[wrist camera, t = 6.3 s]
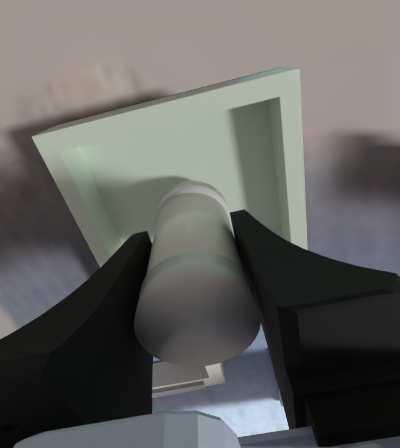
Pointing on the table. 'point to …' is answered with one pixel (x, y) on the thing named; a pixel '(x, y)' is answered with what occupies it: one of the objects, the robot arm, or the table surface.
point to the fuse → (195, 282)
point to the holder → (184, 378)
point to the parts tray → (185, 158)
